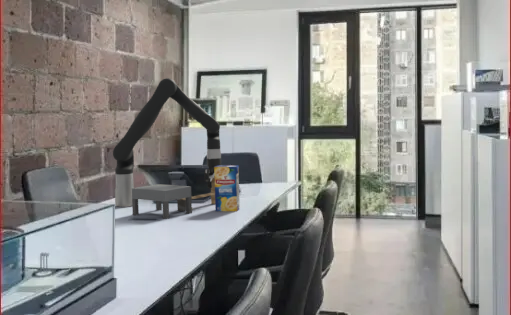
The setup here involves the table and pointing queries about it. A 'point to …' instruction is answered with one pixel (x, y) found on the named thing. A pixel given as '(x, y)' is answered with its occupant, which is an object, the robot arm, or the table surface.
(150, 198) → the charcoal table
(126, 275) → the table surface
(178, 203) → the oak rake
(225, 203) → the blue yellow food box
